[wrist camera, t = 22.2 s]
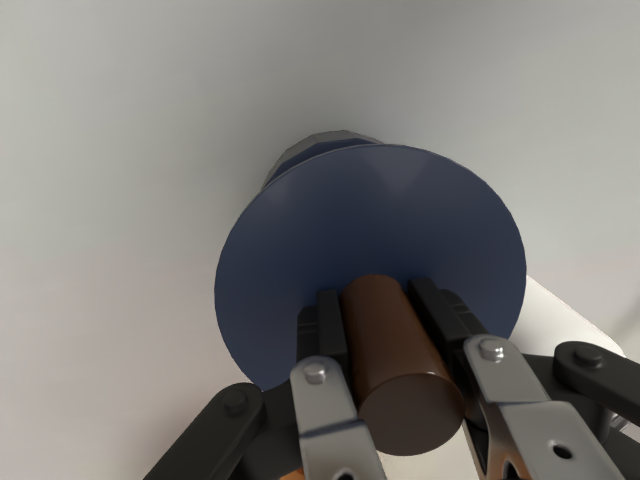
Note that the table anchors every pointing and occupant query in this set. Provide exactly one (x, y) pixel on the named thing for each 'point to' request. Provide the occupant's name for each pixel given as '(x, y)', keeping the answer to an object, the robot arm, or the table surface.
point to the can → (556, 329)
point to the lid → (371, 278)
